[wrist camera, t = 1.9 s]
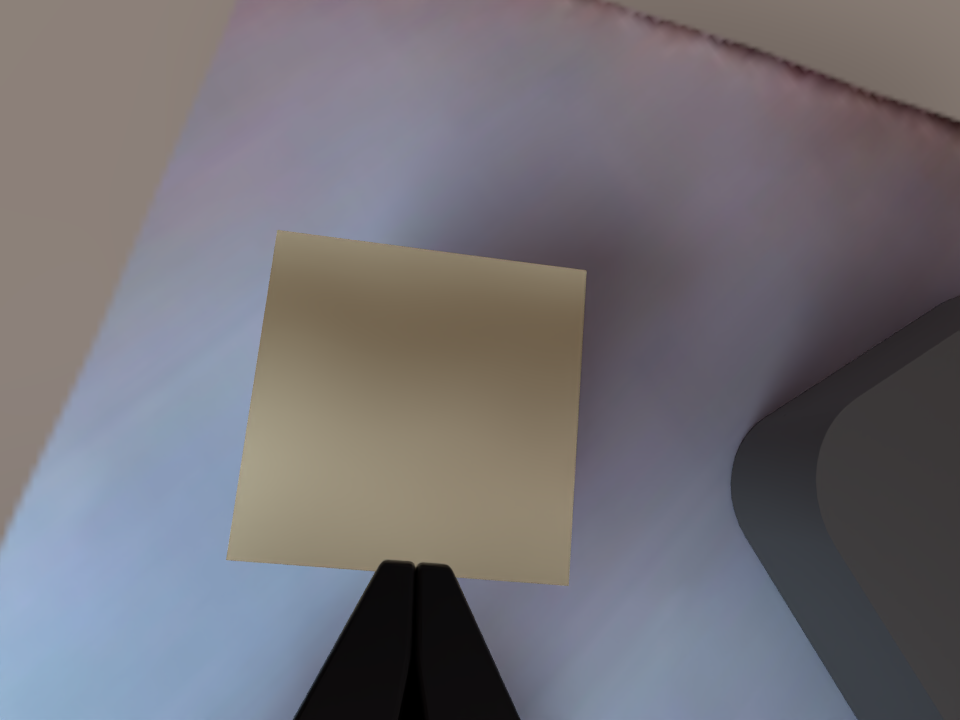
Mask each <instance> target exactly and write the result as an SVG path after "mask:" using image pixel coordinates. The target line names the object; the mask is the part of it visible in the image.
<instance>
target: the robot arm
mask: <svg viewBox="0 0 960 720" xmlns="http://www.w3.org/2000/svg"><path fill="white" fill-rule="evenodd" d="M293 720H520V717H519V715H518V713H517V711H516V709H515V706H514V704H513V702H512V700H511V698H510V695H509V693H508V691H507V689H506V687H505V684H504V682H503V680H502V678H501V676H500V673H499V671H498V669H497V667H496V665H495V662H494V660H493V658H492V656H491V654H490V651H489V649H488V647H487V645H486V643H485V640H484V638H483V636H482V634H481V632H480V629H479V627H478V625H477V623H476V621H475V618H474V616H473V614H472V612H471V609H470V607H469V605H468V603H467V601H466V598H465V596H464V594H463V592H462V590H461V587H460V585H459V583H458V581H457V579H456V576H455V574H454V572H453V570H452V569H451V567H450V566H449V565H447V564H441V563H428V562H421V563H419V564H417V566H416V569H415V564H414V563H413V562H411V561H402V560H389V559H387V560H384V561H382V562H381V563H380V564H379V566H378V568H377V570H376V571H375V573H374V575H373V577H372V579H371V580H370V582H369V584H368V586H367V588H366V589H365V591H364V593H363V595H362V596H361V598H360V600H359V602H358V604H357V605H356V607H355V609H354V611H353V613H352V614H351V616H350V618H349V620H348V622H347V623H346V625H345V627H344V629H343V631H342V632H341V634H340V636H339V638H338V640H337V641H336V643H335V645H334V647H333V649H332V650H331V652H330V654H329V656H328V657H327V659H326V661H325V663H324V665H323V666H322V668H321V670H320V672H319V674H318V675H317V677H316V679H315V681H314V683H313V684H312V686H311V688H310V690H309V692H308V693H307V695H306V697H305V699H304V701H303V702H302V704H301V706H300V708H299V710H298V711H297V713H296V715H295V717H294V718H293Z"/></svg>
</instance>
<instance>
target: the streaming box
mask: <svg viewBox="0 0 960 720" xmlns="http://www.w3.org/2000/svg"><path fill="white" fill-rule="evenodd" d="M731 494H732V501H733V506H734V511H735V514H736V517H737V520H738V523H739V525H740V527H741V529H742V531H743V533H744V535H745V537H746V539H747V540H748V542H749V543H750V545H751V547H752V548H753V550H754V552H755V553H756V555H757V556H758V558H759V560H760V561H761V563H762V565H763V566H764V568H765V569H766V571H767V573H768V574H769V576H770V578H771V579H772V581H773V582H774V584H775V586H776V587H777V589H778V591H779V592H780V594H781V595H782V597H783V599H784V600H785V602H786V604H787V605H788V607H789V608H790V610H791V612H792V613H793V615H794V617H795V618H796V620H797V621H798V623H799V625H800V626H801V628H802V630H803V631H804V633H805V635H806V636H807V638H808V639H809V641H810V643H811V644H812V646H813V648H814V649H815V651H816V652H817V654H818V656H819V657H820V659H821V661H822V662H823V664H824V665H825V667H826V669H827V670H828V672H829V674H830V675H831V677H832V678H833V680H834V682H835V683H836V685H837V687H838V688H839V690H840V691H841V693H842V695H843V696H844V698H845V700H846V701H847V703H848V704H849V706H850V708H851V709H852V711H853V713H854V714H855V716H856V717H857V719H858V720H960V296H959V297H956V298H953V299H950V300H948V301H946V302H944V303H942V304H940V305H939V306H937V307H935V308H934V309H932V310H931V311H929V312H928V313H926V314H925V315H923V316H922V317H920V318H918V319H917V320H915V321H914V322H912V323H911V324H909V325H908V326H906V327H905V328H903V329H901V330H900V331H898V332H897V333H895V334H894V335H892V336H891V337H889V338H888V339H886V340H884V341H883V342H881V343H880V344H878V345H877V346H875V347H874V348H872V349H871V350H869V351H867V352H866V353H864V354H863V355H861V356H860V357H858V358H857V359H855V360H854V361H852V362H850V363H849V364H847V365H846V366H844V367H843V368H841V369H840V370H838V371H837V372H835V373H833V374H832V375H830V376H829V377H827V378H826V379H824V380H823V381H821V382H820V383H818V384H816V385H815V386H813V387H812V388H810V389H809V390H807V391H806V392H804V393H803V394H801V395H799V396H798V397H796V398H795V399H793V400H792V401H790V402H789V403H787V404H786V405H784V406H782V407H781V408H779V409H778V410H776V411H775V412H773V413H772V414H770V415H768V416H767V417H765V418H764V419H763V420H762V421H760V422H759V423H758V424H756V425H755V426H754V427H753V429H752V430H751V431H750V432H749V433H748V434H747V436H746V437H745V439H744V440H743V442H742V443H741V445H740V447H739V450H738V452H737V454H736V457H735V461H734V465H733V469H732V477H731Z"/></svg>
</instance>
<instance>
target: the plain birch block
mask: <svg viewBox="0 0 960 720" xmlns="http://www.w3.org/2000/svg"><path fill="white" fill-rule="evenodd" d="M586 272H587V270H579V269H572V268H564V267H556V266H549V265H541V264H533V263H526V262H518V261H510V260H503V259H495V258H487V257H480V256H472V255H464V254H457V253H449V252H441V251H434V250H426V249H418V248H411V247H403V246H395V245H388V244H380V243H372V242H365V241H357V240H349V239H342V238H334V237H326V236H319V235H311V234H303V233H296V232H288V231H280V230H277V236H276V242H275V249H274V255H273V262H272V268H271V275H270V281H269V288H268V294H267V300H266V307H265V313H264V320H263V326H262V333H261V339H260V346H259V352H258V358H257V365H256V371H255V378H254V384H253V391H252V397H251V404H250V410H249V416H248V423H247V429H246V436H245V442H244V449H243V455H242V462H241V468H240V474H239V481H238V487H237V494H236V500H235V507H234V513H233V520H232V526H231V532H230V539H229V545H228V552H227V558H226V560H233V561H246V562H260V563H273V564H286V565H299V566H313V567H326V568H339V569H352V570H365V571H376V570H377V568H378V566H379V564H380V563H381V562H382V561H384V560H387V559H389V560H402V561H411V562H413V563H414V564H415V569H416V566H417V564H419V563H421V562H428V563H441V564H447V565H449V566H450V567H451V569H452V570H453V572H454V574H455V576H456V577H458V578H471V579H485V580H498V581H511V582H524V583H537V584H551V585H564V586H569V569H570V552H571V534H572V517H573V499H574V482H575V464H576V447H577V429H578V412H579V394H580V377H581V359H582V342H583V324H584V307H585V289H586Z"/></svg>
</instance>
